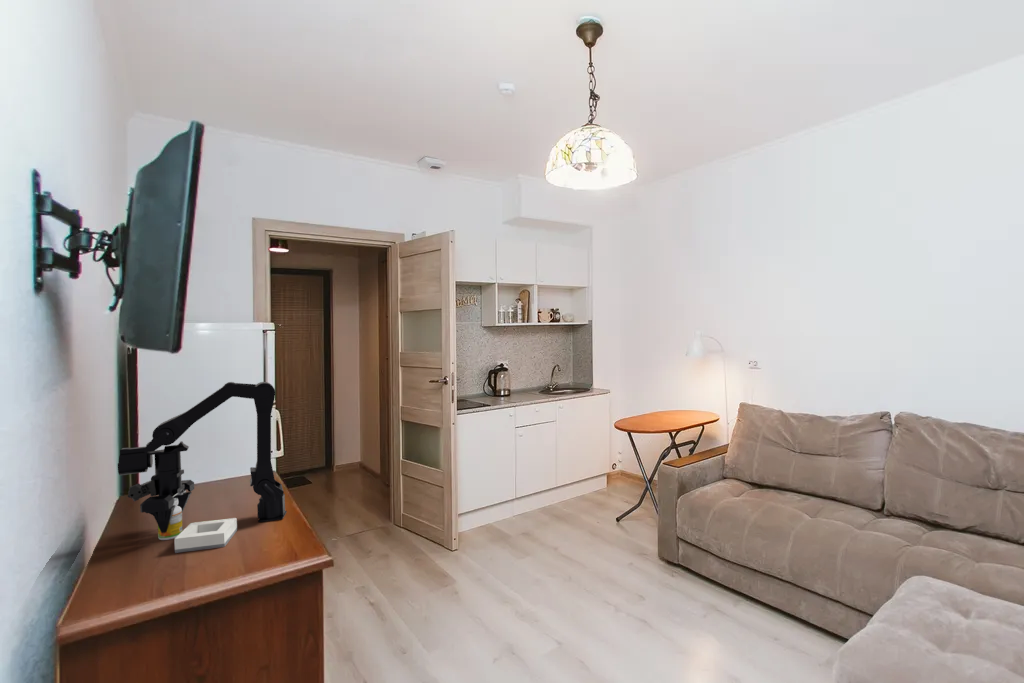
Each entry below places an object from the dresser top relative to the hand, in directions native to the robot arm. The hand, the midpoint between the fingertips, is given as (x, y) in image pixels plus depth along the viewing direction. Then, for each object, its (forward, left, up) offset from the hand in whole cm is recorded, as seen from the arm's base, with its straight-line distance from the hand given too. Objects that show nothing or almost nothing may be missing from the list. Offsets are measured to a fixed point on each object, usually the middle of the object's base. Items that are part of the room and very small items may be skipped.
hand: (170, 526), depth 131 cm
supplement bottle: (0, 0, -3) cm, 3 cm away
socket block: (-11, +7, -3) cm, 13 cm away
